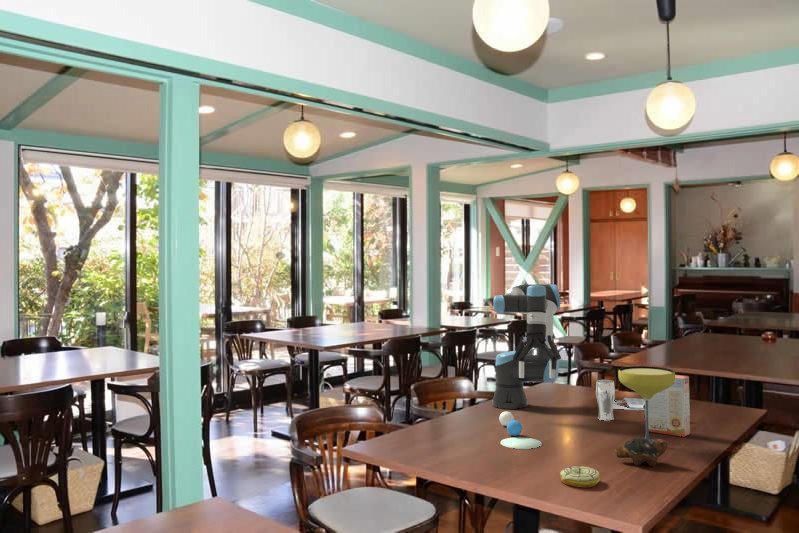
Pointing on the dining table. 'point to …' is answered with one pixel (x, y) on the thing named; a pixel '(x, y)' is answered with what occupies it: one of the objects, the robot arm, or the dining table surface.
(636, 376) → the cocktail glass
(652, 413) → the cracker box
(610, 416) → the beer glass
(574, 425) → the dining table surface
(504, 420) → the white cue ball
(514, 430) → the blue object ball
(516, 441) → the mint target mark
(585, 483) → the decorated donut
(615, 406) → the snack bag
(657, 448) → the decorative turtle
